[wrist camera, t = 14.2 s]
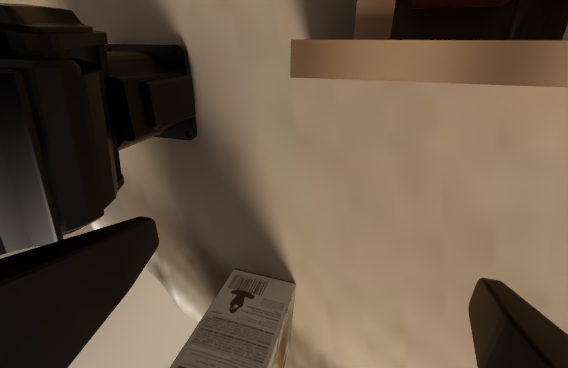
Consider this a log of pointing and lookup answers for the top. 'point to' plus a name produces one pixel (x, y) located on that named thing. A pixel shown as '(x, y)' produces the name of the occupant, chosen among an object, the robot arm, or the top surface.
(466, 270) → the top surface
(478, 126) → the top surface
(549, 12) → the bookend
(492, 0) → the block
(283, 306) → the coffee box
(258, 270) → the top surface
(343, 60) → the wooden display stand
